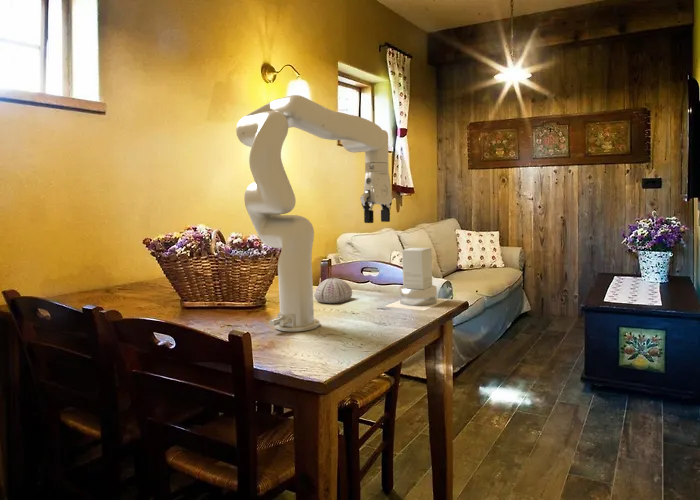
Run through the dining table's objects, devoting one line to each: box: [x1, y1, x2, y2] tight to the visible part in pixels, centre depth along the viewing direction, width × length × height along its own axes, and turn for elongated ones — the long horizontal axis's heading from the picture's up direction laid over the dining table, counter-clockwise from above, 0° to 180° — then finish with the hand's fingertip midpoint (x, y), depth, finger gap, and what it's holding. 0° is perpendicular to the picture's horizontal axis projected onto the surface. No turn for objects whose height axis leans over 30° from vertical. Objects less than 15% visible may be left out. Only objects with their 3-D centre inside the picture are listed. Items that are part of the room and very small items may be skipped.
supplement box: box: [401, 247, 433, 289], centre depth 174 cm, size 7×7×13 cm
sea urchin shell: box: [313, 277, 353, 304], centre depth 186 cm, size 13×14×8 cm
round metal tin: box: [399, 284, 438, 306], centre depth 175 cm, size 12×12×5 cm
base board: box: [384, 298, 448, 311], centre depth 174 cm, size 18×14×1 cm
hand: (377, 222), depth 174 cm, fingers open, 9 cm apart
